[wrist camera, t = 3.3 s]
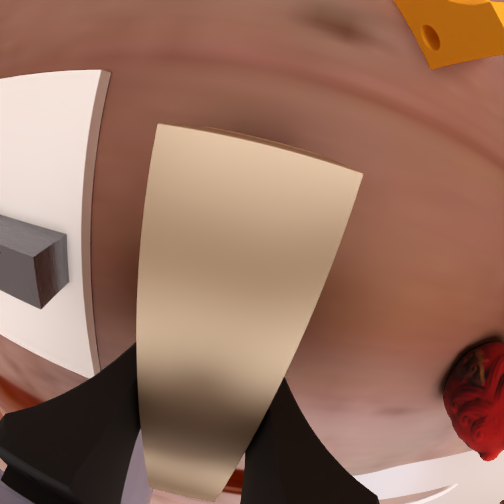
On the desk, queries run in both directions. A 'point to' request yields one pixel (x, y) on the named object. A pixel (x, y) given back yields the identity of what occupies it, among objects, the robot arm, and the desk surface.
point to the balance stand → (49, 213)
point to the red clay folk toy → (478, 399)
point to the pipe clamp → (455, 29)
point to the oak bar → (226, 291)
